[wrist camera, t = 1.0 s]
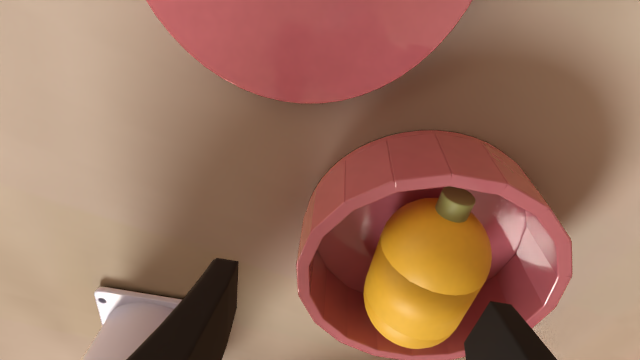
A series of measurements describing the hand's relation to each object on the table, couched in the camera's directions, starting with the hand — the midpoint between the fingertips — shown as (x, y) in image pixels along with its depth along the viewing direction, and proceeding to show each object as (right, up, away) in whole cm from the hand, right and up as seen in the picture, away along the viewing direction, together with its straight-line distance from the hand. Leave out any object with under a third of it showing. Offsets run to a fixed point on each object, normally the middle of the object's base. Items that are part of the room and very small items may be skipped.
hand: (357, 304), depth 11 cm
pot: (+4, +1, +10) cm, 11 cm away
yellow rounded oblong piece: (+4, 0, +10) cm, 10 cm away
